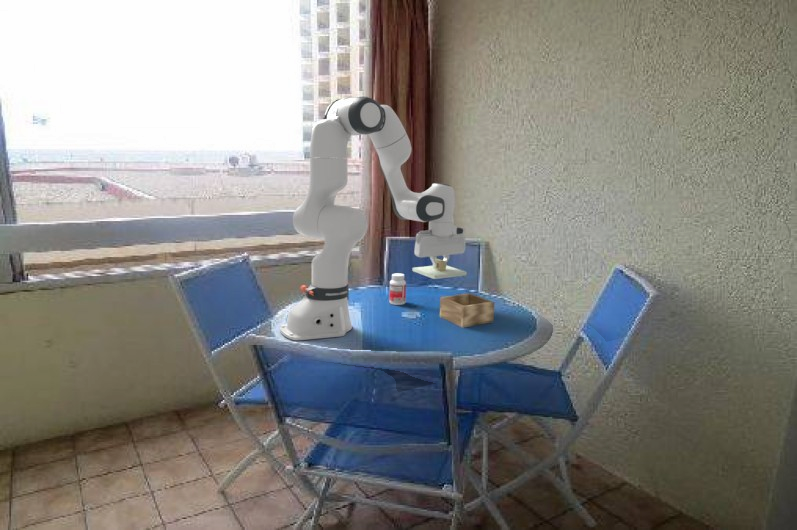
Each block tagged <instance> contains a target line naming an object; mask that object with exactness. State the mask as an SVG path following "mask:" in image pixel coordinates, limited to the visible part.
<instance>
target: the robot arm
mask: <svg viewBox="0 0 797 530" xmlns="http://www.w3.org/2000/svg"><path fill="white" fill-rule="evenodd" d="M362 135H367V136H368V137H369V138H370V140H371V143H372V144H373V146H374V148H375V151H376V154H377V155H378V158H379V165H380V169H381V170H380V171H381V172H382V175H383V178H384V181H385V182H386V183H385V184H386V185H387V186H386V187H387V188H388V191H389V194H390V196H391V203H392V210H393V212H394V215H396V217H397V218H399V220H406V221H408V220H409V221H410V220H411V221H415V222H422V223H428V229H426V230H419V232H417V233H416V235H415V242H414V249H413V250H414V255H415V257H418V258H427V257H428V258H429V259H430V261H431V263H432V266H433V268H438V267H439V263H437V262H436V260H435V259H438V257H440V256H442V257H443V259H442V260H443V261H446V265H447V263H448V261H449V259H450V255H461V254H464V253H465V251H466V244H467V243H466V237H465V232H466V229H465V227H461V226H458V225H456V224H455V220H454V213H455V207H456V204H455V203H456V199H455V198H456V197H455V196H456V195H455V191H454V187H453V186H452V185H450V184H447V183H440V182H434V183H431V186H430V187H429V188H428V189H426V190H425V191H422V192H414V191H412V190H410V189H409V187H408V186H407V183H406V181H405V178H404V175H403V173H402V170H401V169H402V165H404V163H406V162H407V160H409V158H410V156H411V153H412V149H413V148H412V145H411V140H410V138H409V136H408V133H407V132H406V129H405V127H404V126H403V123H402V121H401V120H400V118H399V117H398V115H397V113H396V112H395V111H394V110H393V108H392V107H391V106H389V105H387V104H380V103H379V102H378V101H377V100H375V99H374V98H372V97H369V96H362V95H361V96H347V97H344V98H338V99H336V100H334V101H333V102H331V103H329V105H328V107H327V108H326V111H325V113H324V117H323V118H322V119H321V120H318V121H316V122H315V123H314V124H313V126H312V130H311V136H310V143H309V144H310V146H309V185H308V189H307V192H306V196H305V198H304V200H303V202H302V203H301V204H300V205H299V206H297V208H296V209H295V211H294V212H293V215H292V225H293V229H294V230H295V231H296V232H297V233H298V234H300V235H302V236H304V237H307V238H309V239H312V240H313V239H314V240H322V241H324V242H323V243H324V245H323V247H322V248H323V249H322V251H321V252H320V253H318V254H316V255H315V256H314V257H313V258H312V260H311V284H309V286H307V285H305V284H303V285H301V286H300V287H299V288H300V291H301V292H303V293H305V297H304V298H303V299H301V300H300V301H299V302H298V303H296V304H295V305H294V306H293V307H291V309H290V310H289V311H288V313H287V319H286V323H283V324H280V326H279V332H280V333H281V334H282V336H283V337H285V338H287V339H289V340H292V341H305V340H317V339H325V338H326V339H327V338H335V337H337V338H338V337H344V336H345V335H346V334H347V332H349V331H351V330H352V329H353V325H352V320H351V317H350V312H349V302H348V301H349V298H350V297H349V296H350V288H349V287H350V286H349V283H348V273H349V272H348V271H349V270H348V269H349V259H350V256H351V253H352V251H353V249H354V248H355V246H356V245H357V244H358V243H359V242H361V241H362V240H363V238H365V236H366V234H367V231H368V227H369V225H368V219H367V216H366V214H365V213H364V211H362V210H360V209H357V208H355V207H352V206H347V205H336V204H335V200H336V196H337V195H338V193H339V192H340V191H342V190H344V189H345V188H346V187H347V185H348V175H349V174H348V145H349V144H348V143H349V140H350V138H351V136H362ZM447 266H448V265H447Z"/></svg>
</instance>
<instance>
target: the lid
mask: <svg viewBox="0 0 797 530" xmlns="http://www.w3.org/2000/svg"><path fill="white" fill-rule="evenodd" d="M435 260H436V262H437V263H439V267H438V268H433V265H427V266H417V267H415V266H414V267H412V272H414V273H417V274H418V275H419V274H420V275H422V276H425V277H427V278H430V279H433V280H438V279H446V278H457V277H463V276H467V275H468V274H467V273H468V271H466V270H462V269H459V268H456V267H453V266H450V265H446V261H443V259H439V258H437V259H435Z"/></svg>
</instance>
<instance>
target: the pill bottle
mask: <svg viewBox="0 0 797 530" xmlns="http://www.w3.org/2000/svg"><path fill="white" fill-rule="evenodd" d="M406 294H407V281H406V280H405V274H404V273H400V272H399V273H398V272H396V273H392V274H391V279H390V281H389V295H388V296H389V297H388V299H389V300H388V301H389V303H390V305H393V306H402V305H405V304H406V303H407V302H406V300H407V295H406Z"/></svg>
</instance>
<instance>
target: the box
mask: <svg viewBox="0 0 797 530" xmlns="http://www.w3.org/2000/svg"><path fill="white" fill-rule="evenodd" d="M439 303H440V304H439V317H440V318H441V319H443V320H446V321H448V322H449V323H452V324H454V325H456V326H459V327H460V328H463V329H464V328H468V327H474V326H480V325H484V324H491V323H494V315H495V301H493V300H489V299H487V298H484V297H481V296H479V295H478V294H477V295H476V294H473V293H471V292H469V293H462V294H454V295H447V296H440V298H439Z"/></svg>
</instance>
